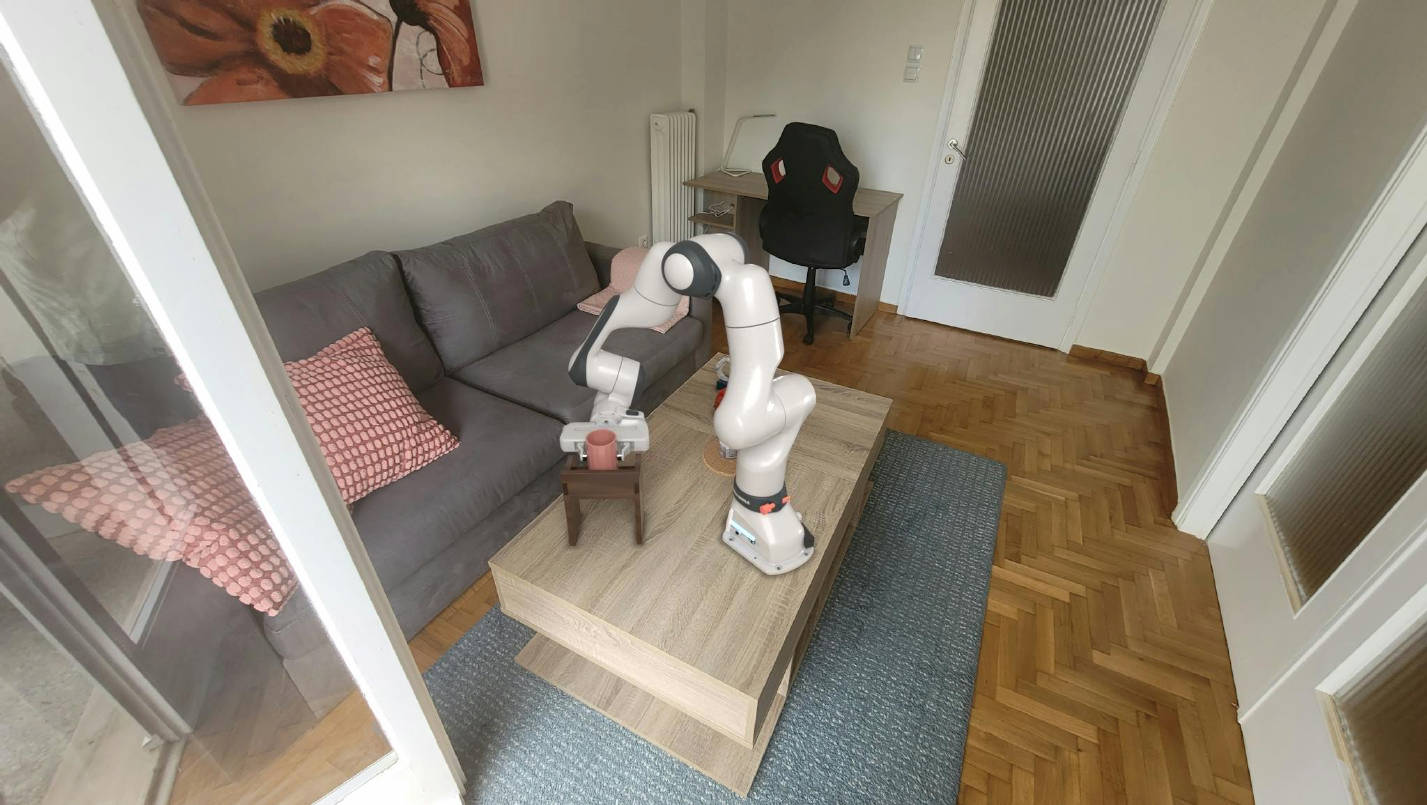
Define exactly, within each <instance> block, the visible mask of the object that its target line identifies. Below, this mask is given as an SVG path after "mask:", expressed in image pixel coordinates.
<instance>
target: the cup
mask: <svg viewBox="0 0 1427 805" xmlns="http://www.w3.org/2000/svg"><path fill="white" fill-rule="evenodd" d="M585 441H586V451H587V460H588V461H587V466H588V470H619V467H618V466H619V461H617V453H618V451H617V438H616V434H615V433H614V432H613V431H611V430H607V429H598V430H594V431H592V432H590V433H588V434H587V436H586V437H585Z"/></svg>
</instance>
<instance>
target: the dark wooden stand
mask: <svg viewBox="0 0 1427 805" xmlns="http://www.w3.org/2000/svg"><path fill="white" fill-rule="evenodd" d="M575 458H576V457H575V454H574V453H573V454H571V453H570V454H568V456H567V460H566V464H565V468H564V469H561V470H560V475H559V476H560V482H561V490H562V496H563V501H564V502H563V503H564V510H565V518H566V525H567V532H568V538H569V546H571V547H574V546H575V547H576V546H577V539H578V535H579V531H580V525H581V520H582V509H581V501H580V500H623V499H624V500H625V499H627V500H629V499H632V500H633V499H634V514H635V534H636V545H643V538H644V537H643V536H644V523H645V522H644V520H645V519H644V518H645V507H644V485H643V484H644V483H643V461H642V460H643V459H642V453H635V462H634V465H618V467H619V470H588V465H587V466H585V465H584V466H576V459H575Z"/></svg>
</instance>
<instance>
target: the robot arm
mask: <svg viewBox="0 0 1427 805" xmlns="http://www.w3.org/2000/svg"><path fill="white" fill-rule="evenodd" d="M750 252H751V251H750V249H749V246H748V244H747V242H746V241H745V240H744V239H743V237H741V236H740V235H738V234H736V233H733V232H731V231H730V232H729V231H718V232H714V233H708V234H707V233H703V234H699V235H695V236H692V237H690V238H687V239H684V240H680V241H678V242H674V241H670V240H669V241H667V240H662V241H657V242H656V243H654V244H653V245H651V246H650V248H649V250H648V251H647V253H646V254H645V256H644V258H643V259H642V261H641V263H640V265H639V267H638V269H637V271H636V273H635V276H634V278H633V281H632V283H631V285H630V286H629V288H627V289H626V290H625V291H624V292H622V293H620V294H614V295H612V296H611V297H610V298H609V300H608V301H607V302H606V303H605V305H604V306H603V308H602V310H601V311H600V312H599V314H598V316H597V317H596V319H595V320H594V322H593V324H592V326H591V327H590V329H589V331H588V332H587V334H586V336H585V338H584V339H583V340H582V342H580V345H579V346H578V348H576V350H575V351H574V352H573V354H572V355H571V357H570V360H569V363H568V368H567V370H568V371H567V373H568V376H569V378H570V380H572V382H573V383H574V385H576V386H579V387H584V388H588V389H589V388H590V389H593V390H597V392H596V394H595V397H594V401H593V408H592V410H591V414H590V418H589V421H585V422H584V421H578V422H575V421H574V422H570V423H567V424H564V425H563V427H562V431H561V433H560V436H559V446H560V449H561V451H563V452H564V453H577V454H578V455H579V460H580V462H588V460H587V451H586V441H585V437H586V436H587V434H588V433H590V432H592V431H594V430H598V429H607V430H611V431H613V432H614V433H615V434H616V438H617V452H618V453H617V461H618V462H619V461H621V462H625V458H626V457H627V456H628V455H629V454H630V453H631V452H647V451H648V450H649V449H650V432H649V426H648V423H647V422H646V418H645V414H644V412H643V411H640V410H633V409H631V407H633V406H635V405H636V404H637V403H638V402H639V401H640V400H641V397H642V395H643V393H644V390H645V383H646V374H647V373H646V370H645V368H644V366H643V364H642V363H641V362H640V361H638V360H635V359H631V358H628V357H625V356H622V355H620V354H615V353H612V352H610V351H607V350H604V349H602V347H603V345H604V343H605V341H606V340H607V338H608V337H609V335H610V334H611V333H612V332H613V331H615V330H620V329H631V328H632V329H653V328H658V327H660V326H663V325H665V324H666V323H668V322H669V321H670V320H671V319H672V318H673V316H674V315H675V313H676V312H677V309H678V307H679V305H680V303H681V301H682V298H683V297H684V296H685V297H689V298H691V297H692V298H697V299H701V300H704V301H709V300H711V299H712V298H713V297H714V298H716V299H717V300H718V301H719V303H720V305H721V308H722V314H723V321H724V325H725V326H724V327H725V333H726V340H727V345H728V354H729V358H730V363H729V372H728V376H729V379H728V384H727V388H726V391H725V394H724V397H723V399H722V401H721V403H720V405H719V406H718V408H717V409H716V411H715V410H714V414H713V418H712V425H713V430H714V433H715V435H716V437H717V439H718V440H719V441H720V442H721V443H722V444H723V445H724V446H726V447H727V448H729V449H731V450H735V451H737V454H736V465H735V466H736V467H735V475H734V477H733V482H732V495H733V497H732V501H731V504H730V507H729V511H728V515H727V518H726V521H725V529H724V531H723V533H722V537H721V541H722V542H723V543H725V544H726V545H727V546H728V547H730V548H731V549H732V550H734V551H735V552H736V553H737V554H739V555H740V556H741V557H742V558H744V559H746V560H747V561H748V562H750V563H751V564H752V565H754V566H755V567H756V568H758V569H759V570H760V571H761V572H763V573H764V574H765V575H767V576H777V575H784V574H786V573H788V572H789V573H790V572H791V571H794V570H795V569H798V568H799V567H801V566H803V565H804V564H805V563H807V562H808V561H809V560H810V559H811V558H812V556H813V555H814V551H815V548H814V545H815V537H814V535H813V533H812V532H811V531H810V530H809V528H807V526H806V525H805V524H804V523H803V522H801V521H802V519H803V515H802V514H801V512H800V511H795V510H794V508H793V506H792V504H791V497H792V495H788V489H787V485H786V480H785V476H786V471H787V464H788V460H789V459H788V458H789V455H790V452H791V450H792V447H793V445H794V443H795V441H796V438H797V436H798V434H799V432H800V429H801V428H802V426H803V424H804V422H805V421H806V419H807V418H808V416H809V415H810V414H811V413H812V412H813V410H814V409H815V406H816V404H817V395H816V394H817V393H816V390H815V388H814V385H813V384H812V383H811V382H810V380H809V379H808V378H806V377H805V376H804V375H802V374H799V373H791V374H789V373H788V374H784V375H778V376H776V377H775V374H776V371H777V369H778V367H779V365H780V364H781V362H782V360H783V358H784V356H785V355H784V354H785V346H784V345H785V344H784V339H783V332H782V331H783V330H782V324H781V318H780V317H781V316H780V310H779V306H778V301H777V297H776V292H775V289H774V286H773V283H772V279H771V277H770V274H769V272H768V271H767V270H766V269H765V268H764V267H763V266H761V265H757V264H752V263H750V262H751V253H750Z"/></svg>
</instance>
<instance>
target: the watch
mask: <svg viewBox="0 0 1427 805" xmlns="http://www.w3.org/2000/svg"><path fill="white" fill-rule="evenodd" d="M727 363H729V364H730V356H727V357H726V356H724V357H722V358H721V359H720V360H719V361H718V362H717V363H716V364H715V366H714V369H715V372H716V375H717V376H718V378H719V379H718V380H716V390H717V391H720V390H722V389H724V388H726V387H727V384H728V379H729V374H724V373H723V371H722V369H723V368H724V366H726V364H727Z"/></svg>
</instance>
